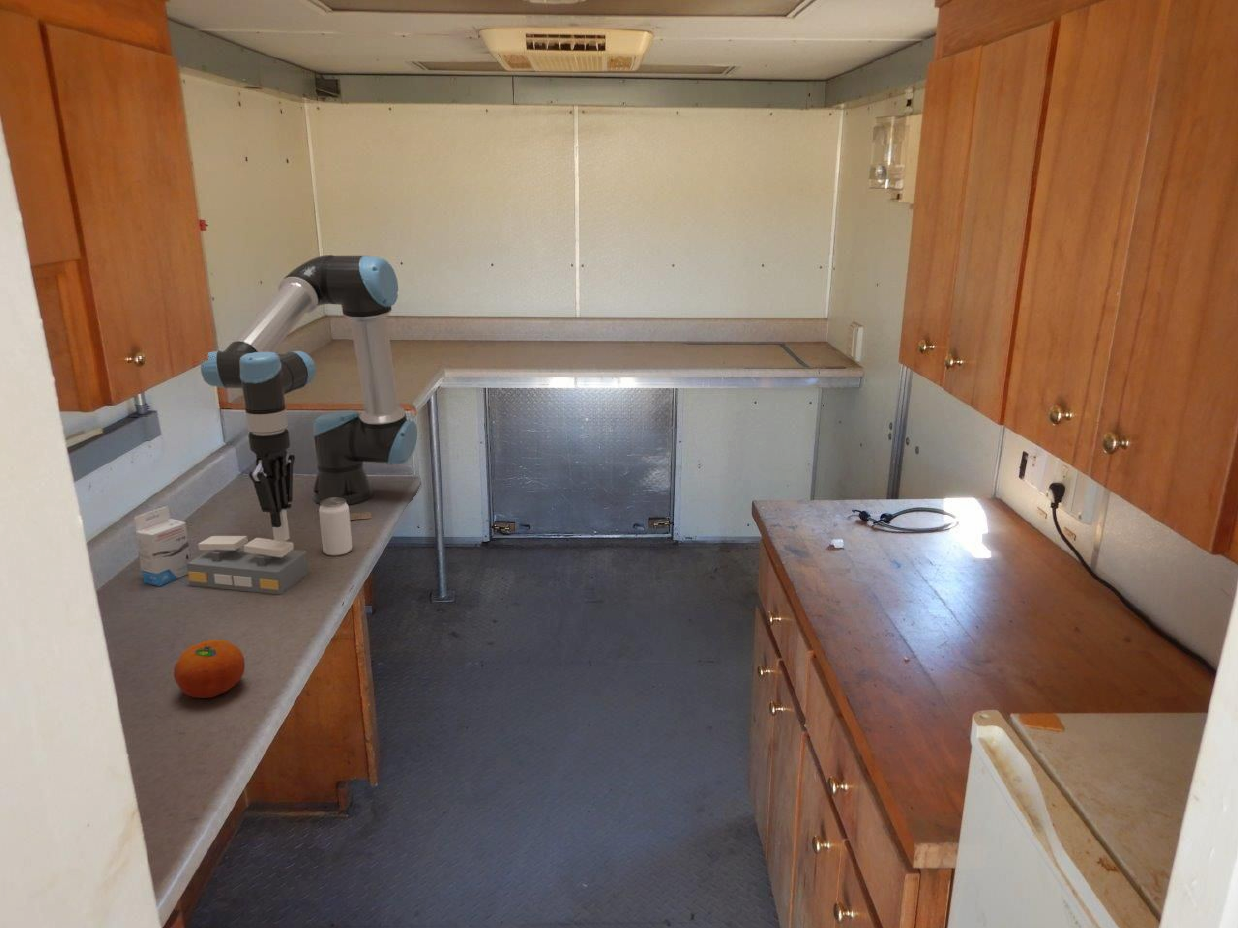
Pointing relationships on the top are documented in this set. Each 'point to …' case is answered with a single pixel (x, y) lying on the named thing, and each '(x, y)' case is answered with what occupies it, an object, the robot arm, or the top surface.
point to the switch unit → (248, 571)
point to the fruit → (209, 668)
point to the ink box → (162, 547)
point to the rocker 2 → (268, 547)
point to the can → (335, 526)
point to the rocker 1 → (223, 543)
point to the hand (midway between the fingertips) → (281, 538)
